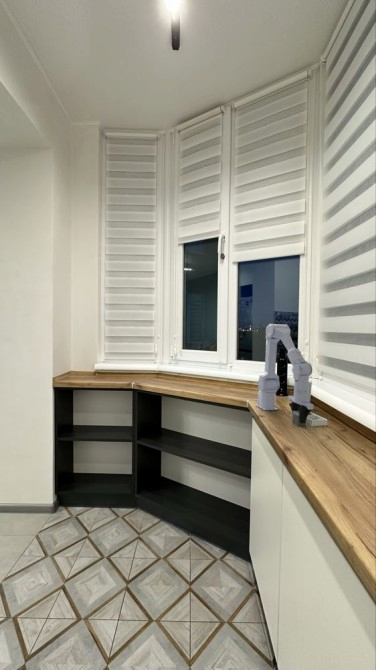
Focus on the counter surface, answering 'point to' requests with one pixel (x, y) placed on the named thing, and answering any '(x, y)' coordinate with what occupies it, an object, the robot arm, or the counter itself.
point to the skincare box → (309, 390)
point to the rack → (315, 420)
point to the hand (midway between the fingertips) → (299, 421)
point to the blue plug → (297, 419)
